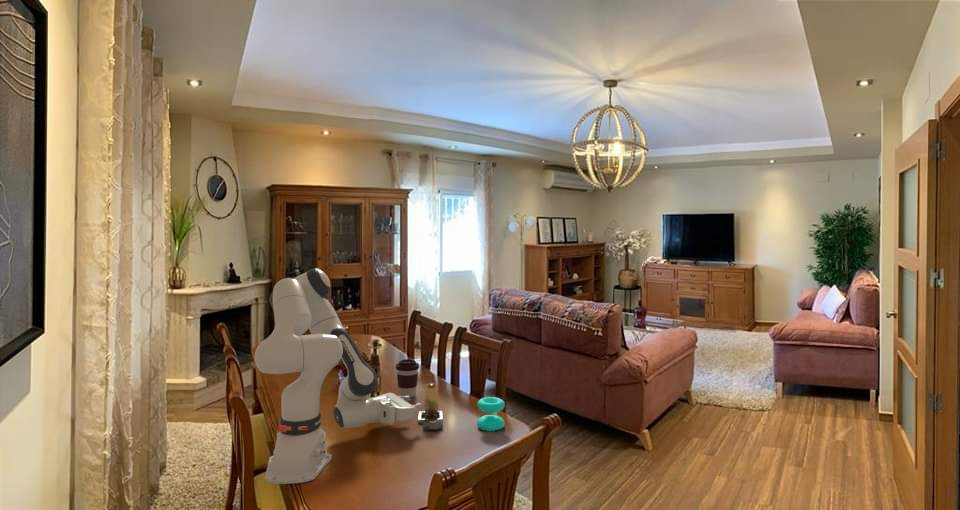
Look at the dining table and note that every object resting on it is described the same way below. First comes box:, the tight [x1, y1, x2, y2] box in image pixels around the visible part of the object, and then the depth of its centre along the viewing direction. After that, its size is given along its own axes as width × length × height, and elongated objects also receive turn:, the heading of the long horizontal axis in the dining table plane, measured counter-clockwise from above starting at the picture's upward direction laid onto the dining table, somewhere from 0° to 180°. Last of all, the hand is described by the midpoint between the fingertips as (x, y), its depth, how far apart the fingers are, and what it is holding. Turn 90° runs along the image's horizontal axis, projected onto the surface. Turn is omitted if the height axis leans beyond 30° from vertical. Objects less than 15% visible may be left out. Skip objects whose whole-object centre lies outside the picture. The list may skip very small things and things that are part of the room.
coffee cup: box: [395, 358, 420, 398], centre depth 225 cm, size 10×10×15 cm
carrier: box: [422, 418, 444, 433], centre depth 191 cm, size 12×7×2 cm, turn 5°
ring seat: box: [417, 410, 444, 425], centre depth 198 cm, size 9×9×1 cm
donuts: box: [476, 396, 506, 432], centre depth 190 cm, size 10×10×10 cm
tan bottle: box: [424, 382, 439, 419], centre depth 198 cm, size 5×5×13 cm
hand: (415, 401), depth 193 cm, fingers open, 8 cm apart
